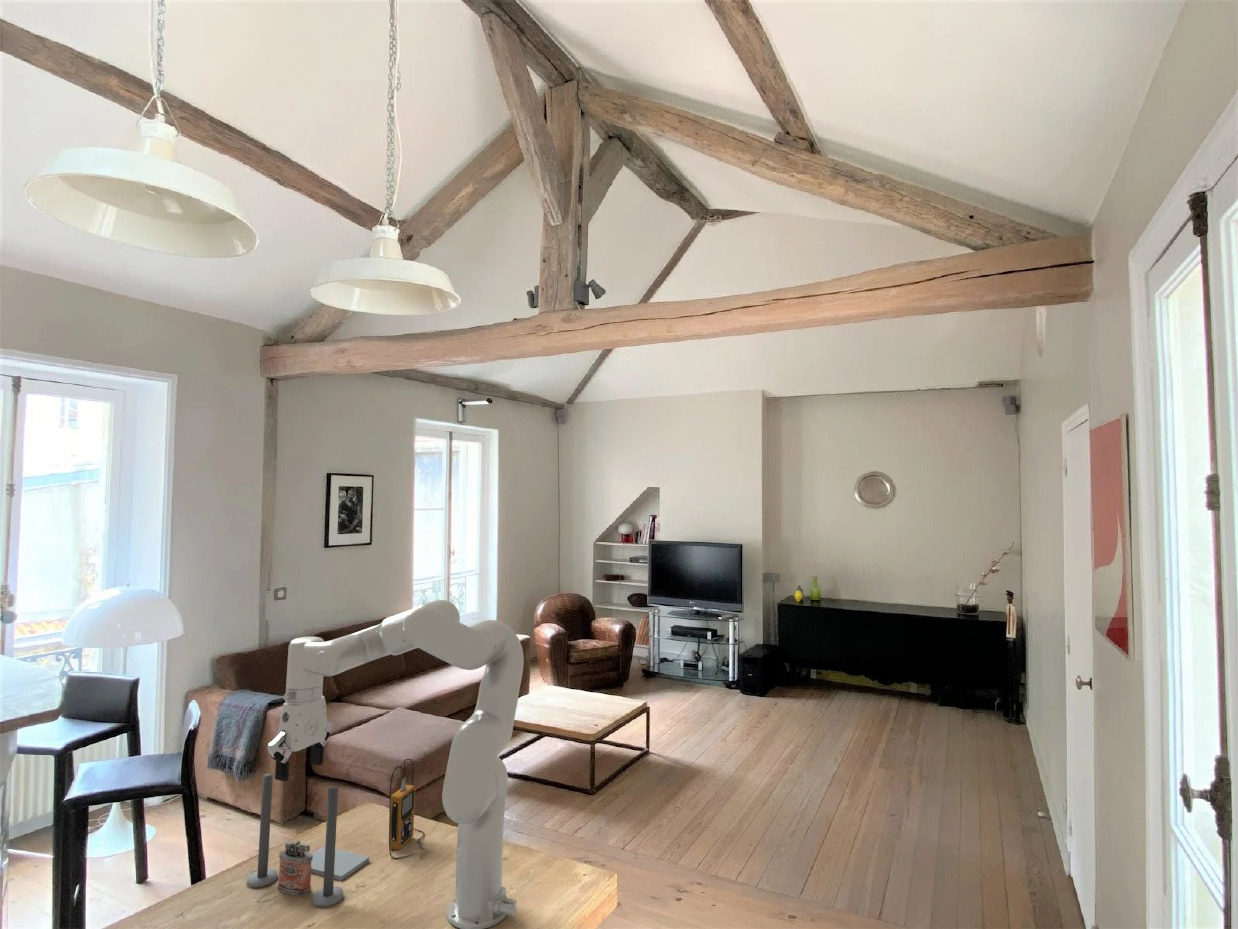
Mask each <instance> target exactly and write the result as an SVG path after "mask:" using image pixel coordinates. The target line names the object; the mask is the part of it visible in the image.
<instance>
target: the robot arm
mask: <svg viewBox="0 0 1238 929" xmlns="http://www.w3.org/2000/svg"><path fill="white" fill-rule="evenodd" d="M460 615H461V614H460V611H459V609H458V607H457V606H456V605H455V604H454V603H453V602H451V601H449V600H446V599H438V600H432V601H430V602H426V603H422V604H420V605H419V604H418V605H417V606H414V607H413V608H411V609H408V610H405V611H402V612H400V613H397V614H395V615H391V616H388V617H386V618H384V619H383V620H382V622H381V623H378V624H377V625H374V626H370V627H368V628H366V629H365V628H364V629H362V630H360V631H357V632H354V633H350V634H347V635H344V636H341V637H337V638H334V639H331V640H327V641H325V640H324V639H323V638H322V637H319V636H301V637H296V638H294V639H292V640H291V641H290V642H289V644H288V650H287V651H288V654H287V668H286V682H285V683H286V684H285V687H286V688H285V694H283V696H282V697H283V700H284V701H285V702H284V703H283V705H282V709H281V712H280V716H279V717H280V718H279V722H278V731H277V736H276V737H275V738H274V739H273V740H272V741H270V742H269V743H268V745H267V746H266V748H267V752H268V754H269V757H270V758H271V759H272V761H273V762H275V769H274V770H275V771H274V772H275V774H274V779H275V780H277V781H281V782H288V780H289V778H290V777H289V776H290V775H289V774H290V773H289V772H290V762H289V761H288V760H289V758H290V756H291V754H292V753H293V752H294V753H295V752H299V751H301V750H303V749H306V748H309V747H310V760H309V762H310V764H312V765H316V766H322V765H323V763H324V754H325V753H324V751H325V748H324V747H326V746H327V741H328V738H330V735H331V731H332V729H333V725H334V724H333V722H331V721H328V716H327V715H328V713H327V711H328V710H327V704H326V698H325V696H324V695H323V688H324V686H323V685H324V677H333V676H336V675H338V674H342V673H343V672H346V671H349V670H351V669H354V668H356V667H359V666H361V665H364V664H367V663H369V662H372V661H375V660H377V659H381V658H383V657H387V656H390V655H392V656H398V655H401V654H404V653H407V652H410V651H412V650H416V649H420V650H422V651H424V652H426V653H427V654H429V655H431V656H434V657H435V658H437V659H440V660H441V661H443V662H445V663H447V664H449V665H451V666H454V667H455V668H458V669H462V670H465V671H474V670H478V669H480V668H482V667H484V666H485V668H484V672H483V676H482V678H481V681H480V685H479V689H478V696H477V701H476V705H475V708H474V711H473V713H472V715H471V716H470V717H469V718H468V719H466V720H465V721H464V722H463V723H462V724H461V725H460V726H459V727H458V729H457V731H456V732H455V734H454V735H453V736H454V737H453V739H452V742H451V746H450V751H449V755H448V756H449V757H448V759H447V766H446V772H445V777H444V780H443V781H444V782H443V786H442V793H441V797H442V798H441V800H442V801H441V802H442V806H443V807H442V808H443V810H444V812H445V814H446V816H447V817H448V818H449V819H450V820H451V821H452V822H454V823H456V824H457V841H456V843H457V844H456V868H455V869H456V871H455V898H453V900H451V901H450V903H449V904H448V907H447V910H446V913H447V914H446V917H447V920H448V921H449V923H450V924H451V925H453V926H454V927H456V928H459V929H488V928H491V927H493V926H495V925H497V924H499V923H500V922H501V921H503V920H504V919H505V917H506V916H509V917H513V918H514V917H515V915H516V913H517V899H515V898H512V897H508V896H507V887H504V886H502V884H503V882H502V881H503V855H504V854H503V852H504V850H503V849H504V824H505V822H504V821H505V810H506V809H505V808H506V800H507V795H508V794H507V793H508V785H509V781H508V780H509V775H508V771H507V767H506V765H505V762H504V761H503V760H502V759H501V758H500V757H499V755H500V754H501V753H502V752H503V751H504V750H505V749H506V748H507V745H509V743H510V741H511V740H512V735H513V731H514V730H513V729H514V723H515V718H516V713H517V708H518V702H519V696H520V695H519V693H520V688H521V683H522V679H523V673H524V672H523V671H524V657H525V656H524V650H523V646H522V644H521V641H520V639H519V637H518V635H517V634H516V633H515V631H514V630H513V629H512V628H511V627H510V626H509V625H507V624H506V623H504V622H502V621H499V620H493V619H486V620H483V621H481V622H477V623H475V624H472V625H470V626H468V625H466V624H464V623H463V622H461V616H460ZM283 753H284V754H283Z"/></svg>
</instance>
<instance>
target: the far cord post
mask: <svg viewBox="0 0 1238 929" xmlns="http://www.w3.org/2000/svg"><path fill="white" fill-rule="evenodd" d="M273 776H274V774H273V773H265V774H263V776H262V786H261V789H262V790H261V804H260V805H261V806H260V824H259V840H258V858H257V860H258V862H257V870H256V871H253V872H252V873H250V874H248V876H247V878H246V879H247V880H246V885H248V886H247V887H249V886H250V887H249V888H251V887H260V888H263V887H267V886H270V885H272V884H273V883H275V882H276V880H277V878H278V871H277V870H276V869H274V868H268V866H269V853H270V852H269V850H270V832H271V816H272V799H273V798H272V797H273V796H272V794H273V783H274V782H273V781H274V780H273V779H274V778H273ZM271 883H272V884H271Z"/></svg>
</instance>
